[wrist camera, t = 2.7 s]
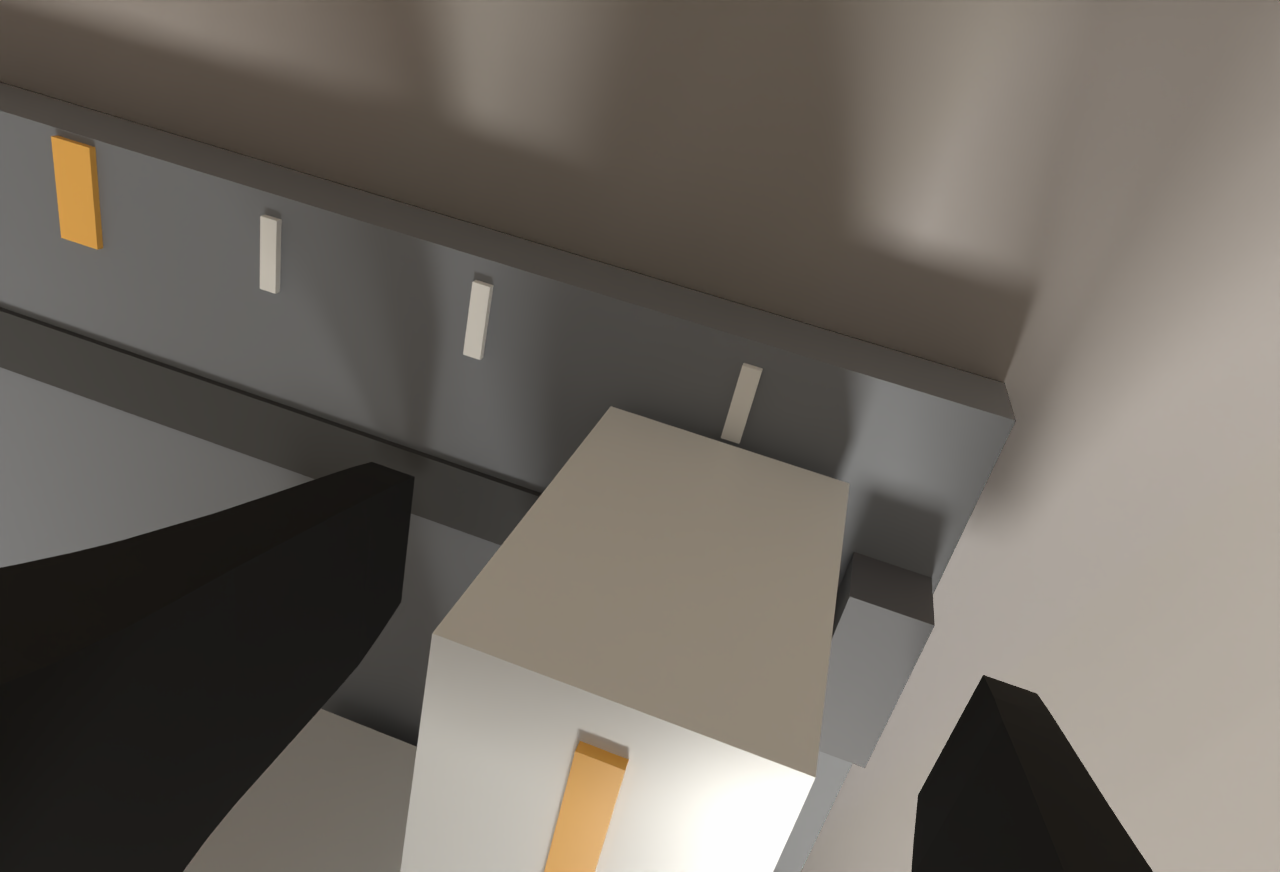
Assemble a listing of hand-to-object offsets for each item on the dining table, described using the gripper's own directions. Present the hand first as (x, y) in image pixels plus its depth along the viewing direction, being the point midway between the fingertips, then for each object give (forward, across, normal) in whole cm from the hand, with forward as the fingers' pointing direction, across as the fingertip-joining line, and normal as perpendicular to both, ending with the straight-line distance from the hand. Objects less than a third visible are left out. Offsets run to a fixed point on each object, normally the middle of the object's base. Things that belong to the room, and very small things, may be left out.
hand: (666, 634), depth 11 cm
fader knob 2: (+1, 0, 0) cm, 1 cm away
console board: (+2, +7, +4) cm, 8 cm away
